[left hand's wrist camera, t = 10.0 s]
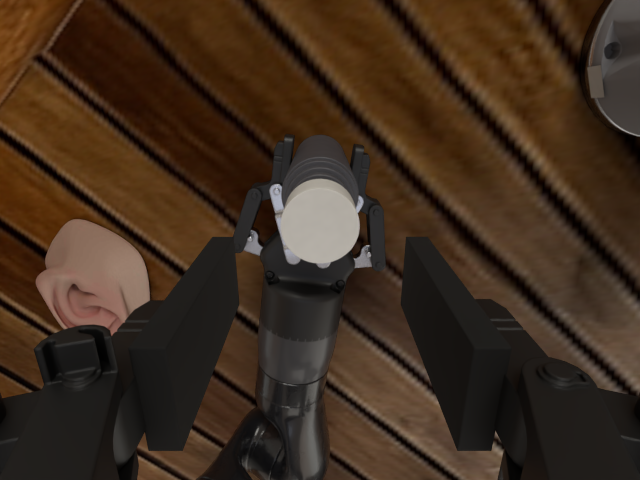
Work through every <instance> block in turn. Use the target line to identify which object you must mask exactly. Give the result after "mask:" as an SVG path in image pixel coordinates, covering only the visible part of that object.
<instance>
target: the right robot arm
mask: <svg viewBox="0 0 640 480" xmlns="http://www.w3.org/2000/svg"><path fill="white" fill-rule="evenodd" d="M294 138H295V135H290V134H286V135H285V137H284V141H279V142H278V143H277V145H276V147H275V150H274V161H273V171H272V179H271V180H270V181H268V182H264V183H259V182H258V183H255V184H253V186H252V187H251V189H250V190H249V191H248V193H247V196H246V199H245V202H244V205H243V208H242V211H241V214H240V217H239V220H238V223H237V226H236V229H235V232H234V235H233V237H234V246H235V253H241V252H242V251H243V250H244V251H247V252H250V253H253V254H255V255H258V256H260V259H261V262H262V264H263V266H264V280H263V290H262V300H261V310H260V318H259V331H258V352H259V357H258V367H257V377H256V391H255V396H256V401H257V405H258V407H256V408H254V409H253V410H251V411H250V412H249V413H248V414H247V415H246V416H245V417H244V419H243V420H242V421H241V423H240V425H239V426H238V428H237V429H236V431H235V432H234V434H233V435H232V437H231V438H230V440H229V441H228V443H227V444H226V445H225V447H224V448H223V449H222V451H221V452H220V453H219V455H218V456H217V457H216V459H215V460H214V461H213V463H212V464H211V465H210V466H209V467H208V469H207V470H206V471H205V472H204V473H203V474H202V475H201V476H199V477H198V478H197V479H196V480H252V479H251V477H250V476H249V474H248V473H247V472H249V471H250V472H251V473H253V474H254V475H255V476H257V477H258V478H259V479H260V480H323V479H324V477H325V474H326V471H327V467H328V462H329V454H330V442H329V433H328V426H327V420H326V412H325V405H324V399H323V394H324V389H325V384H326V378H327V372H328V367H329V363H330V360H331V357H332V354H333V351H334V347H335V342H336V336H337V331H338V325H339V319H340V314H341V308H342V303H343V297H344V292H345V286H346V281H347V279H348V277H349V275H350V274H351V273H352V272H353V271H354V268H361V267H372V268H373V269H374V270H375V271H381V270H383V269H384V268H385V265H386V262H385V236H384V212H383V209H382V207H381V205H380V203H379V201H378V200H377V199H374V198H371V197H369V196H367V195H366V194H365V188H366V182H367V177H368V171H369V166H370V159H369V155H368V154H367V153H364V146H363V145H358V144H354V145H353V150H352V157H351V163H350V168H351V170H352V172H353V175H354V177H355V179H356V182H357V185H358V191H359V198H358V204H357V207H356V210H357V214H358V212H359V211H361V212H363V213H365V214H366V217H367V235H368V242H364V243H362V245H361V246H360V251H359V252H358V253H357V254H355V255H353V254H352V252H351V250H350V251H349V252H348V253H347V254H346V255H344V256H343V257H341V258H340V259H338V260H335V261H333V262H329V263H311V262H307V261H305V260H302V259H300V258H299V257H297V256H296V255H294V254H293V253H292V252H291V251H290V250H289V249H288V247H287V246H286V244H285V242H284V240H283V238H282V234H281V227H280V224H281V217H282V214H283V211H284V207H283V204H282V199H281V191H282V185H283V182H284V179H285V177H286V175H287V172H288V170H289V167H290V165H291V163H292V156H293V147H294ZM267 199H271V200H272V203H273V207H274V211H275V218H276V222H277V226H278V230H277V231H276V232H275V233H274V234H273V235H272V236H271V237H270V238H269V239H268V240H267V241H266V242H265V243H262V242H261V241H260V239H259V235H260V233H259V230H258V229H257V228H255V227H253V226H254V223H255V220H256V217H257V214H258V211H259V208H260V205H261V202H262V201H263V200H267Z"/></svg>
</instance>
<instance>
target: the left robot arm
mask: <svg viewBox="0 0 640 480" xmlns="http://www.w3.org/2000/svg"><path fill="white" fill-rule="evenodd" d="M580 74H581V83H582V89H583V92H584V96H585V98H586V101H587V103H588V105H589V107H590V108H591V110H592V111H593V113H594V114H595V116H596V117H597V118H598V119H599V120H600V121H601V122H603V123H604V124H605V125H606V126H608V127H609V128H611V129H613V130H615V131H617V132H620V133H623V134H626V135H631V136H637V137H640V0H605V1H604V2H603V4H602V5H601V7H600V8H599V10H598V11H597V13H596V15H595V17H594V19H593V21H592V23H591V25H590V27H589V30H588V32H587V35H586V38H585V42H584V45H583V50H582V55H581V67H580ZM238 306H239V295H238V283H237V270H236V258H235V246H234V237H212V238H211V240H210V241H209V242H208V244H207V245H206V246H205V248H204V249H203V250H202V252H201V253H200V254H199V256H198V257H197V258H196V259H195V261H194V262H193V263H192V265H191V266H190V267H189V269H188V270H187V271H186V273H185V274H184V275H183V277H182V278H181V279H180V281H179V282H178V283H177V284H176V286H175V287H174V288H173V290H172V291H171V292H170V294H169V295H168V296H167V298H166V299H165V300H164V301H148V302H146V303H145V304H143V305H141V306H140V307H138V308H136V309H135V310H134V311H133V312H132V313H131V314H130V315H129V316H128V318H127V319H126V320H125V323H122V324H121V326H120V327H119V328H118V329H117V332H115V333H114V334H113V335H112V336H111V332H110V330H109V329H107V328H106V327H105V326H101V325H95V324H92V325H80V326H75V327H71V328H67V329H64V330H62V331H59V332H57V333H54V334H52V335H51V336H49V337H47V338H46V339H44V340H42V341H41V342H40V343H39V344H38V345H37V346H36V347H35V348H34V352H35V355H36V359H37V362H38V365H39V369H40V372H41V375H42V379H43V382H44V386H43V388H42V390H39V391H36V392H31V393H26V394H21V395H16V396H11V397H7V398H2V396H1V394H0V480H137V475H138V467H139V464H138V457H137V452H136V448H137V446H138V444H139V442H140V440H141V438H142V436H143V434H144V432H145V435H146V440H147V445H148V450H149V451H183V448H184V446H185V443H186V440H187V438H188V435H189V433H190V430H191V428H192V425H193V422H194V420H195V417H196V415H197V412H198V409H199V407H200V404H201V402H202V399H203V397H204V394H205V391H206V389H207V386H208V384H209V381H210V378H211V376H212V373H213V371H214V368H215V366H216V363H217V360H218V358H219V355H220V353H221V350H222V347H223V345H224V342H225V340H226V337H227V335H228V332H229V329H230V327H231V324H232V322H233V319H234V317H235V314H236V311H237V309H238ZM401 306H402V309H403V311H404V314H405V317H406V319H407V322H408V324H409V327H410V329H411V332H412V335H413V337H414V340H415V342H416V345H417V347H418V350H419V353H420V355H421V358H422V360H423V363H424V366H425V368H426V371H427V373H428V376H429V378H430V381H431V384H432V386H433V389H434V391H435V394H436V397H437V399H438V402H439V404H440V407H441V409H442V412H443V415H444V417H445V420H446V422H447V425H448V428H449V430H450V433H451V435H452V438H453V440H454V443H455V446H456V448H457V451H491V450H492V445H493V440H494V435H495V430H496V432H497V434H498V436H499V438H500V440H501V442H502V444H503V446H504V447H505V448H504V452H503V457H502V462H501V466H500V471H499V475H498V480H640V394H639V396H638V397H637V396H633V395H628V394H623V393H618V392H613V391H608V390H604V389H600V388H597V386H596V384H595V382H594V381H593V380H592V379H591V377H590V376H589V375H588V374H586V373H585V372H584V371H582V370H581V369H579V368H578V367H576V366H574V365H572V364H569V363H567V362H565V361H562V360H558V359H554V358H550V357H548V356H547V355H546V354H545V353H544V351H543V350H542V349H541V348H540V347H539V346H538V345H537V343H536V342H535V341H534V340H533V339H532V338H531V336H530V335H529V334H528V333H527V332H526V331H525V330H523V327H522V326H521V325H520V324H519V323H518V322H517V321H515V318H514V317H513V316H512V315H511V314H510V312H509V311H508V310H507V309H506V308H504V307H503V306H501V305H499V304H498V303H496V302H494V301H493V300H491V299H474V298H473V296H472V295H471V294H470V292H469V291H468V290H467V288H466V287H465V286H464V284H463V283H462V282H461V281H460V279H459V278H458V277H457V275H456V274H455V273H454V271H453V270H452V269H451V267H450V266H449V265H448V263H447V262H446V261H445V259H444V258H443V257H442V256H441V254H440V253H439V252H438V250H437V249H436V248H435V246H434V245H433V244H432V242H431V241H430V240H429V238H428V237H406V246H405V258H404V270H403V283H402V295H401Z"/></svg>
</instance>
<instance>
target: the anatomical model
mask: <svg viewBox="0 0 640 480" xmlns="http://www.w3.org/2000/svg"><path fill="white" fill-rule="evenodd" d="M45 264H46V268H47V270H45V271H43V272H42V273H41V274H39V276H38V277H37V279H36V285H37V288H38V290H39V292H40V293H41V295H42V297H43V298H44V300H45V302H46V303H47V305H48V307H49V309H50V310H51V312H52V314H53V315H54V317H55V318H56V320H57V321H58V323H59V324H60V325H61V326H62V328H63V329H67V328H71V327H75V326H80V325H92V324H95V325H101V326H105V327H106V328H107V329H109V330H110V332H111V336H112V335H113V334H114V333H115V332H117V329H118V328H119V327H120V326H121V324H122V323H125V320H126V319H127V318H128V316H129V315H130V314H131V313H132V312H133V311H134V310H135V309H136V308H138V307H140V306H141V305H143V304H145V303H146V302H148V301H150V291H149V281H148V275H147V270H146V266H145V263H144V261H143V259H142V257H141V255H140V254H139V252H138V251H137V250H136V249H135V248H134V247H133V246H132V245H131V244H130V243H129V242H127V241H126V240H125V239H123V238H122V237H120V236H118V235H117V234H115V233H113V232H111V231H110V230H108V229H106V228H103V227H101V226H99V225H97V224H94V223H92V222H89V221H86V220H81V219H74V220H71V221H69V222H67V223H66V224H65V225H64V226H63V227H62V228H61V230H60V231H59V232H58V234H57V235H56V237H55V238H54V240H53V241H52V243H51V245H50V247H49V250H48V252H47V255H46V259H45Z"/></svg>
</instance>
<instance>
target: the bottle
mask: <svg viewBox="0 0 640 480" xmlns="http://www.w3.org/2000/svg"><path fill="white" fill-rule="evenodd" d="M313 179H327V180H331V181H334V182H336V183H338V184H340V185H341V186H342V187H344V188H345V189H346V190H347V191H348V193H349V194H350V195H351V197H352V199H353V201H354V204H355V207H357V204H358V198H359V191H358V185H357V182H356V179H355V177H354V175H353V172H352V170H351V168H350V165H349V163H348V161H347V158H346V156H345V154H344V151H343V149H342V147H341V146H340V144H339V143H338V142H337V141H336V140H334V139H333V138H331V137H329V136H325V135H314V136H311V137H309V138H307V139H305V140H304V141H303V142H302V143H301V144H300V146H299V147H298V149H297V151H296V153H295V156H294V158H293V160H292V163H291V165H290V167H289V170H288V172H287V175H286V177H285V179H284V182H283V185H282V191H281V199H282V204H283V207H285V204H286V202H287V199H288V197H289V195H290V194H291V193H292V191H293V190H294V189H295V188H296V187H298V186H299V185H300V184H302V183H304V182H306V181H309V180H313Z"/></svg>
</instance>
